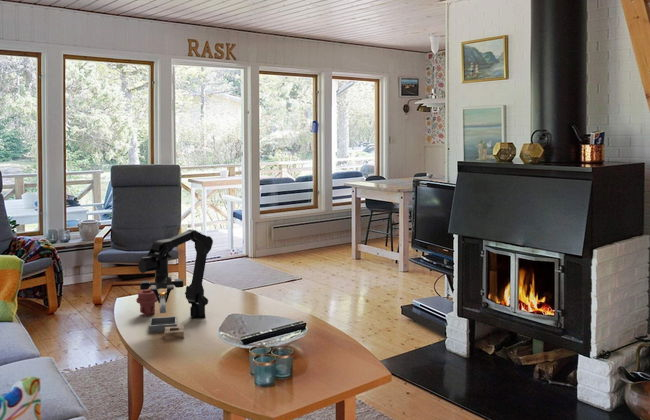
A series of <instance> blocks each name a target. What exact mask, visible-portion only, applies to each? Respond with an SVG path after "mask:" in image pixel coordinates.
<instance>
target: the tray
mask: <svg viewBox="0 0 650 420" xmlns="http://www.w3.org/2000/svg"><path fill="white" fill-rule="evenodd" d="M174 326H178V316H177V315H175V316H174V315H173V316H160V317H149V323H148V332H149V333H151V334H152V333H162V332H164V333H165V327H174Z"/></svg>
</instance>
